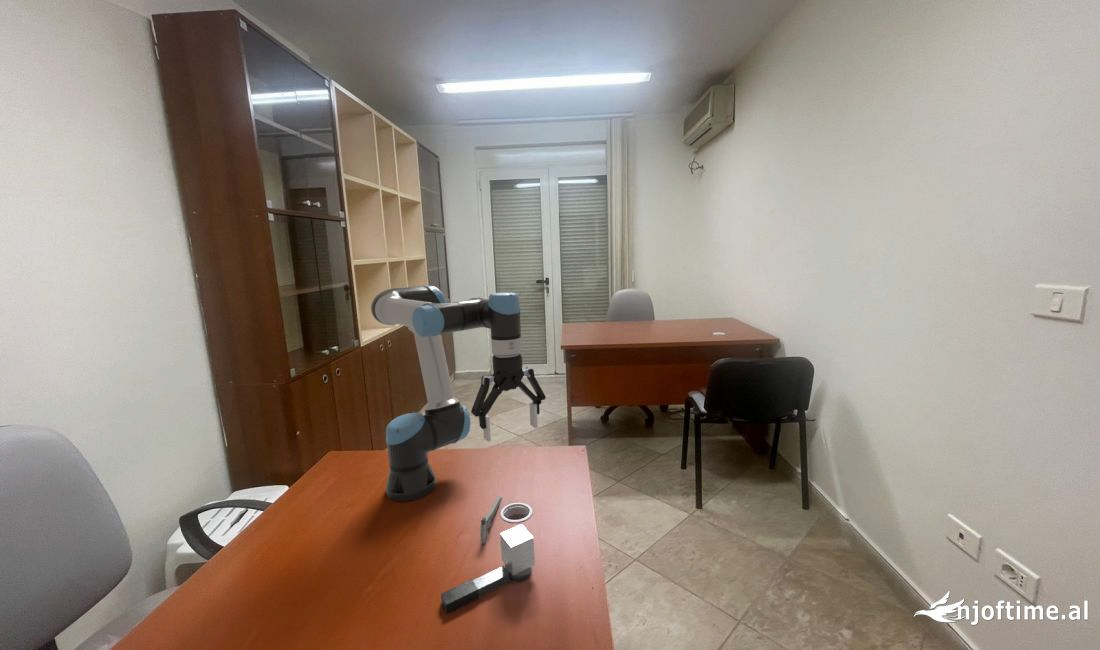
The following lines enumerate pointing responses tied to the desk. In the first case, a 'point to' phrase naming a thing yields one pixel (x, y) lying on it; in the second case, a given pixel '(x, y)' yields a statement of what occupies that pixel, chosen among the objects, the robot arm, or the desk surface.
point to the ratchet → (480, 587)
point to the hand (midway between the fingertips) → (511, 432)
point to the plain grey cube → (517, 549)
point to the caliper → (488, 520)
